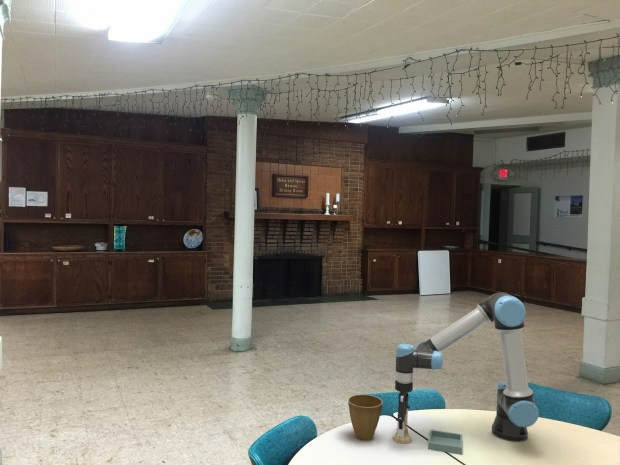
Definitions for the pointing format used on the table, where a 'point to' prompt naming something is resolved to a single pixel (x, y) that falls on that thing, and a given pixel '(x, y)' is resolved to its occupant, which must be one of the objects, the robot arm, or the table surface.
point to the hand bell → (406, 435)
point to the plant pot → (364, 414)
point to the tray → (445, 441)
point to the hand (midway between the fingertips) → (402, 429)
